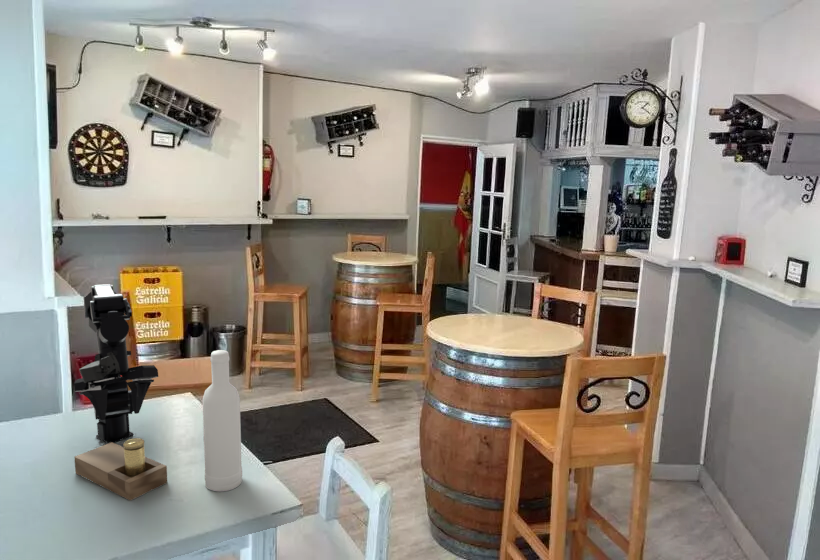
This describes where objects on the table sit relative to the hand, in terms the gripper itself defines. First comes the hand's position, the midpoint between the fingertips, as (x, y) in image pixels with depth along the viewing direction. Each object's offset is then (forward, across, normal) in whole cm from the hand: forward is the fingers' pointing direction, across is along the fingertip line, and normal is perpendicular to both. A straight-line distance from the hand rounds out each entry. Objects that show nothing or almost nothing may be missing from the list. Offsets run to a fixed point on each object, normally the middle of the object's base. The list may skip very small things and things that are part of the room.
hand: (119, 416), depth 142 cm
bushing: (+15, +4, -2) cm, 16 cm away
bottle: (+18, +21, +5) cm, 28 cm away
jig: (+13, -1, 0) cm, 13 cm away
